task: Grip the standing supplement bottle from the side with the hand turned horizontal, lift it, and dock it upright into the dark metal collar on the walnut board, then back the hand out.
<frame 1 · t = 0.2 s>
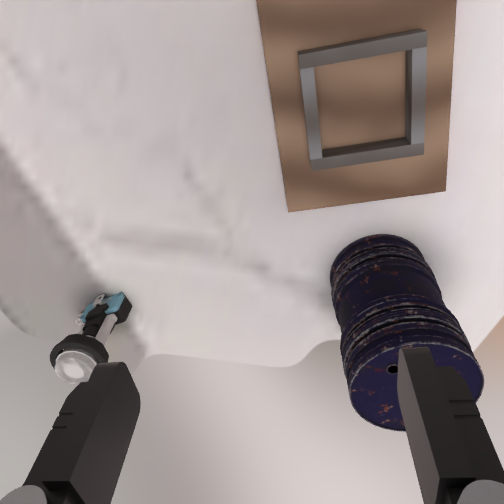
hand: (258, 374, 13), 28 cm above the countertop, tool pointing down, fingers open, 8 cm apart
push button: (105, 304, 49), on the countertop
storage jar: (376, 273, 45), on the countertop
dock board: (358, 98, 36), on the countertop
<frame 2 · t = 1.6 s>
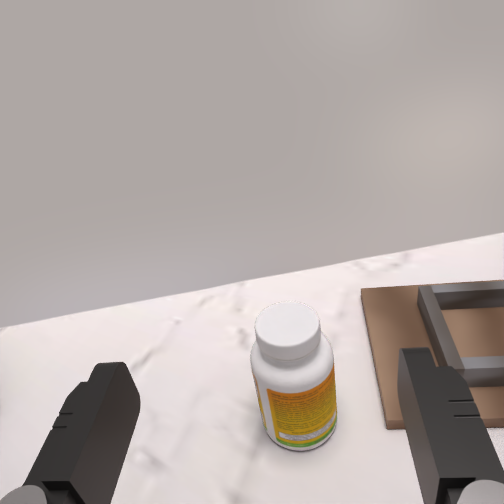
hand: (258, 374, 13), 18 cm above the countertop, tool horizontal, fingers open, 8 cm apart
supplement bottle: (300, 420, 32), on the countertop
dock board: (488, 347, 35), on the countertop
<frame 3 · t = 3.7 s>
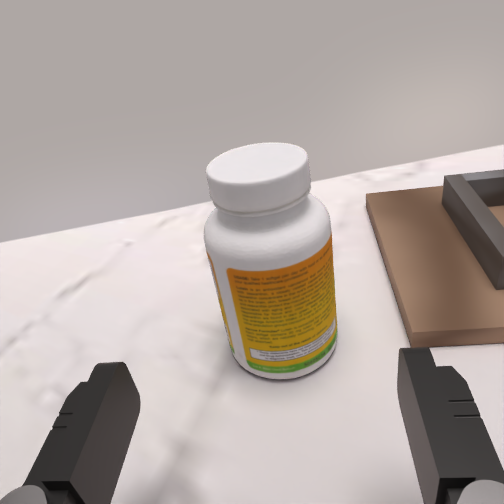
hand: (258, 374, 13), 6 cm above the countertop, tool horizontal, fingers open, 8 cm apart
supplement bottle: (284, 343, 22), on the countertop
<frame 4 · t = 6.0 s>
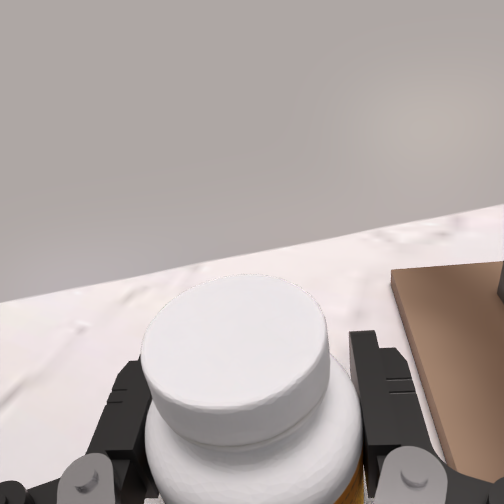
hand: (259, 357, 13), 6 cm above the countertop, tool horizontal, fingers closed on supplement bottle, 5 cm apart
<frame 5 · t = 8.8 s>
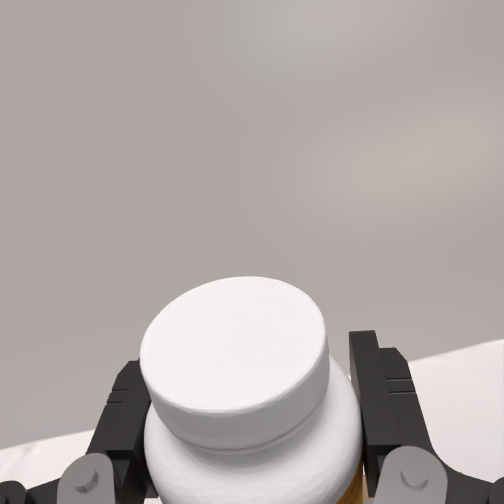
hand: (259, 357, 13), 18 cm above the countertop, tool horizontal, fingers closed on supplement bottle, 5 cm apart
when the fingers open (8 cm above the countertop, at t = 11.7 s): supplement bottle drops 1 cm, resting on dock board.
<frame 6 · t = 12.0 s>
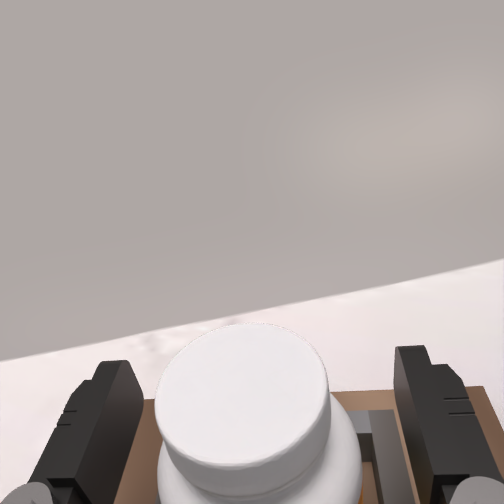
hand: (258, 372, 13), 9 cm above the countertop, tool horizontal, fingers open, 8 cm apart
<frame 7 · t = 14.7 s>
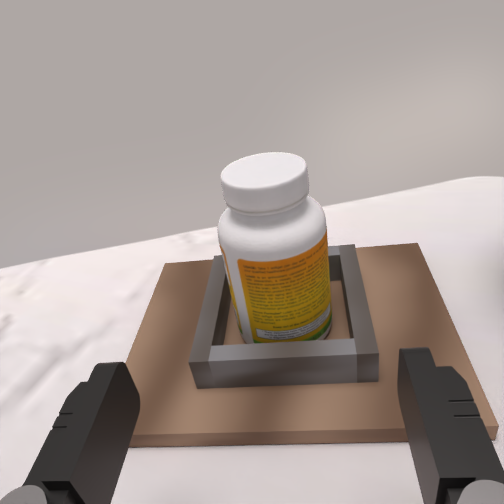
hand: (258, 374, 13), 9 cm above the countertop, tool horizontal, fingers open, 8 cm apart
supplement bottle: (285, 326, 25), point 1 cm above the countertop, touching dock board
dock board: (287, 334, 26), on the countertop
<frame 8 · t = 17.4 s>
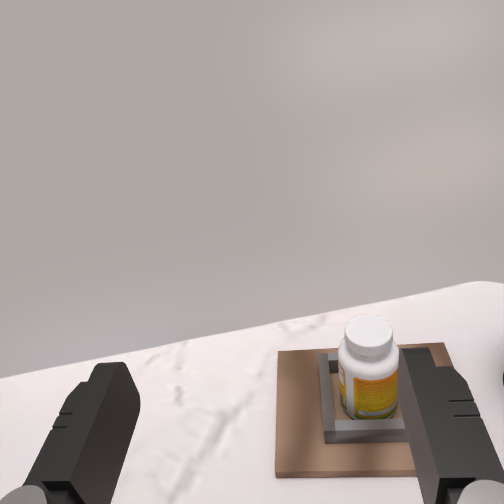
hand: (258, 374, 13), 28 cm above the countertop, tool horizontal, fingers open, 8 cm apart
supplement bottle: (368, 402, 43), point 1 cm above the countertop, touching dock board
dock board: (368, 406, 43), on the countertop
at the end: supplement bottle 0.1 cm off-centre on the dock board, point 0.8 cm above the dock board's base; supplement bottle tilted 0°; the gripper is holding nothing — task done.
